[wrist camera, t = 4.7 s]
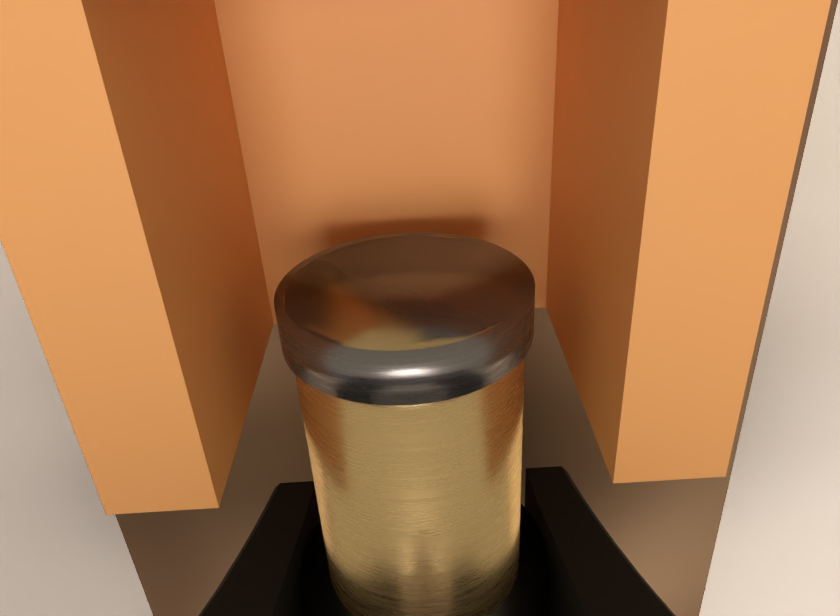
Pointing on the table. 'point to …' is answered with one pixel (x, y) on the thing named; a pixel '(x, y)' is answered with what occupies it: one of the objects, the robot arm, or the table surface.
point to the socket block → (394, 197)
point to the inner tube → (415, 426)
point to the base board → (541, 447)
